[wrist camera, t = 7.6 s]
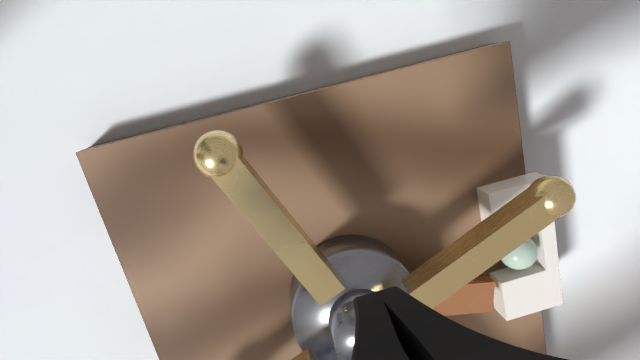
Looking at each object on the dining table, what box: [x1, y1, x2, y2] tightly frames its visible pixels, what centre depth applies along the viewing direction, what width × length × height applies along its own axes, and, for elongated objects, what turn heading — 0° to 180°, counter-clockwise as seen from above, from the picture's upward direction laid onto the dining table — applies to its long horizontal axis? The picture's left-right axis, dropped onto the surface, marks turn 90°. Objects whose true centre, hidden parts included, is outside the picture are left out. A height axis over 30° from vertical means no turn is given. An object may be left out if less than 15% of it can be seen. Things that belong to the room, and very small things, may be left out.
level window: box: [477, 172, 563, 321], centre depth 21 cm, size 7×3×2 cm, turn 14°
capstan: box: [193, 130, 576, 360], centre depth 19 cm, size 21×21×4 cm
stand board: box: [76, 41, 546, 360], centre depth 22 cm, size 20×20×2 cm
